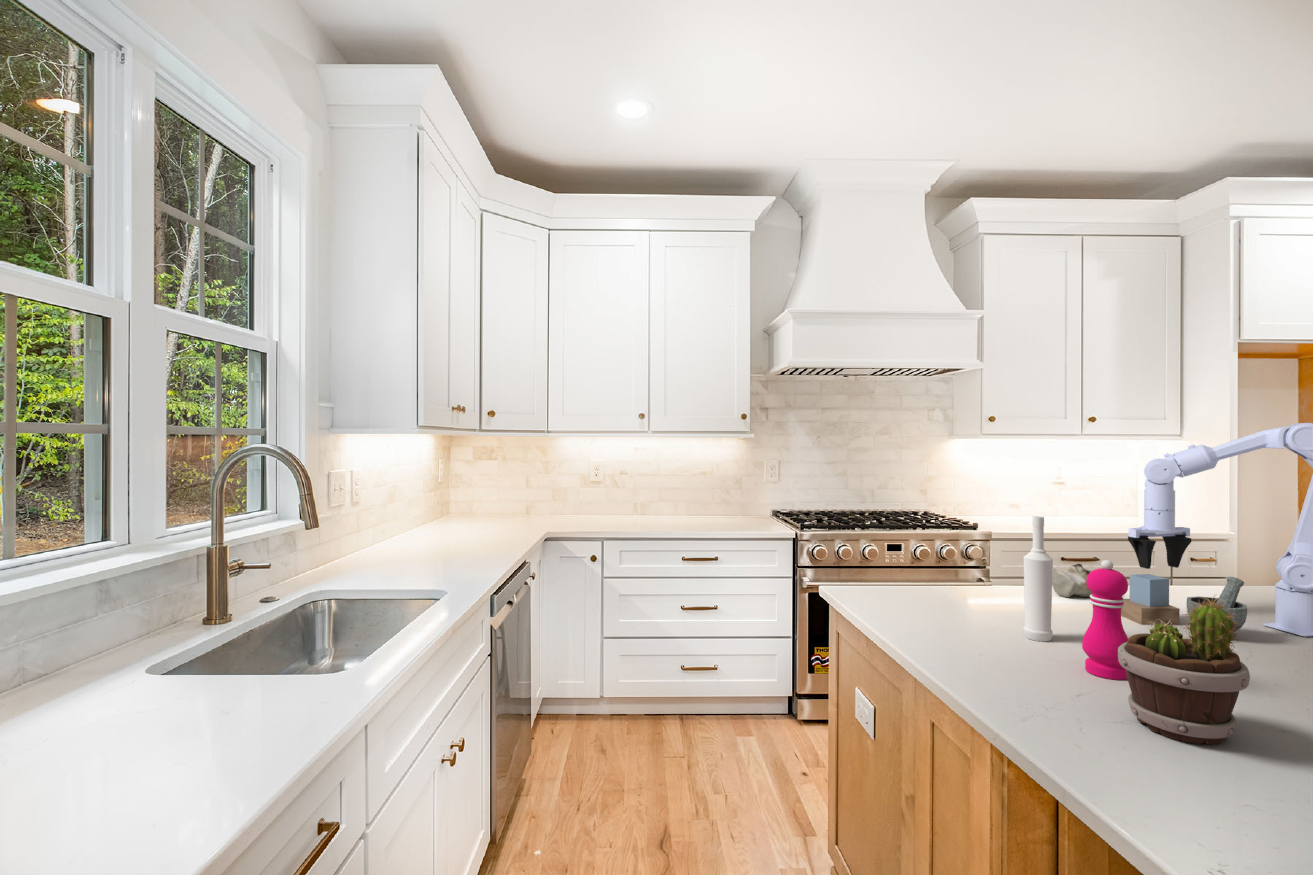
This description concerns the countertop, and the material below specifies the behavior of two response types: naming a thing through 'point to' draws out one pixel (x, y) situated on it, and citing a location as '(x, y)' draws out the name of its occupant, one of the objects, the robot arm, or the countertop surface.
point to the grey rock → (1071, 581)
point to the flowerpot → (1186, 676)
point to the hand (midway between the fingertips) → (1159, 567)
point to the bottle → (1038, 587)
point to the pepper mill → (1105, 622)
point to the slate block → (1149, 590)
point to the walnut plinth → (1150, 613)
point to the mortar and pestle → (1226, 602)
